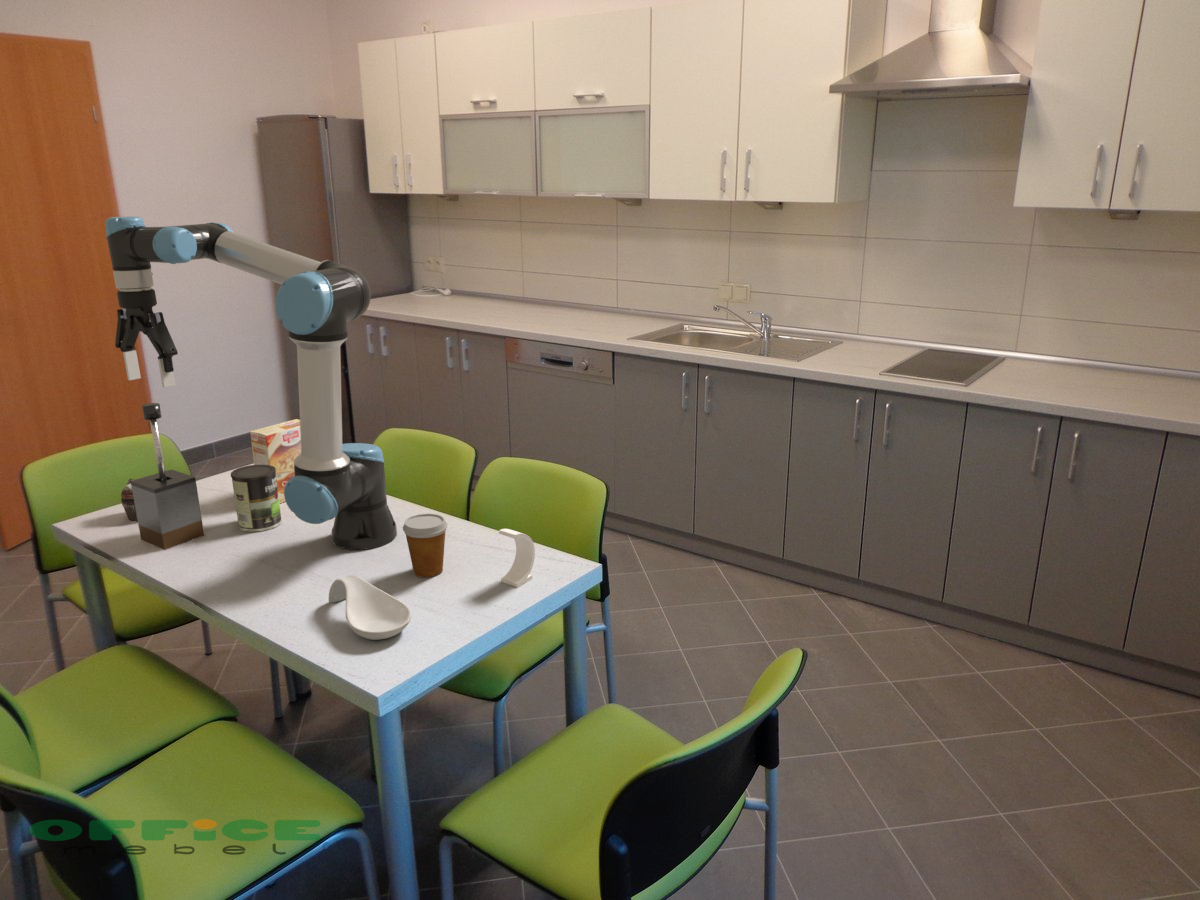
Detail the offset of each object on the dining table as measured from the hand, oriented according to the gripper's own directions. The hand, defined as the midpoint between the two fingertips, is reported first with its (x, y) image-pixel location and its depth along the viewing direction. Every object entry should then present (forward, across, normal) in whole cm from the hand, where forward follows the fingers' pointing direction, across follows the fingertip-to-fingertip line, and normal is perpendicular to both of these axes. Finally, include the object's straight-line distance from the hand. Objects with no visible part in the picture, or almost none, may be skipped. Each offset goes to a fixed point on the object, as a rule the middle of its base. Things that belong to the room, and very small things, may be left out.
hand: (151, 382), depth 196 cm
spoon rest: (+39, -70, +6) cm, 80 cm away
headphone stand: (+39, -85, -24) cm, 96 cm away
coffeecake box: (+38, -1, -32) cm, 50 cm away
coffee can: (+38, -11, -15) cm, 43 cm away
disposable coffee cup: (+38, -66, -17) cm, 78 cm away
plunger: (+25, -1, +2) cm, 25 cm away
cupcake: (+38, +18, -3) cm, 42 cm away
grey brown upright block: (+38, -1, +2) cm, 38 cm away
